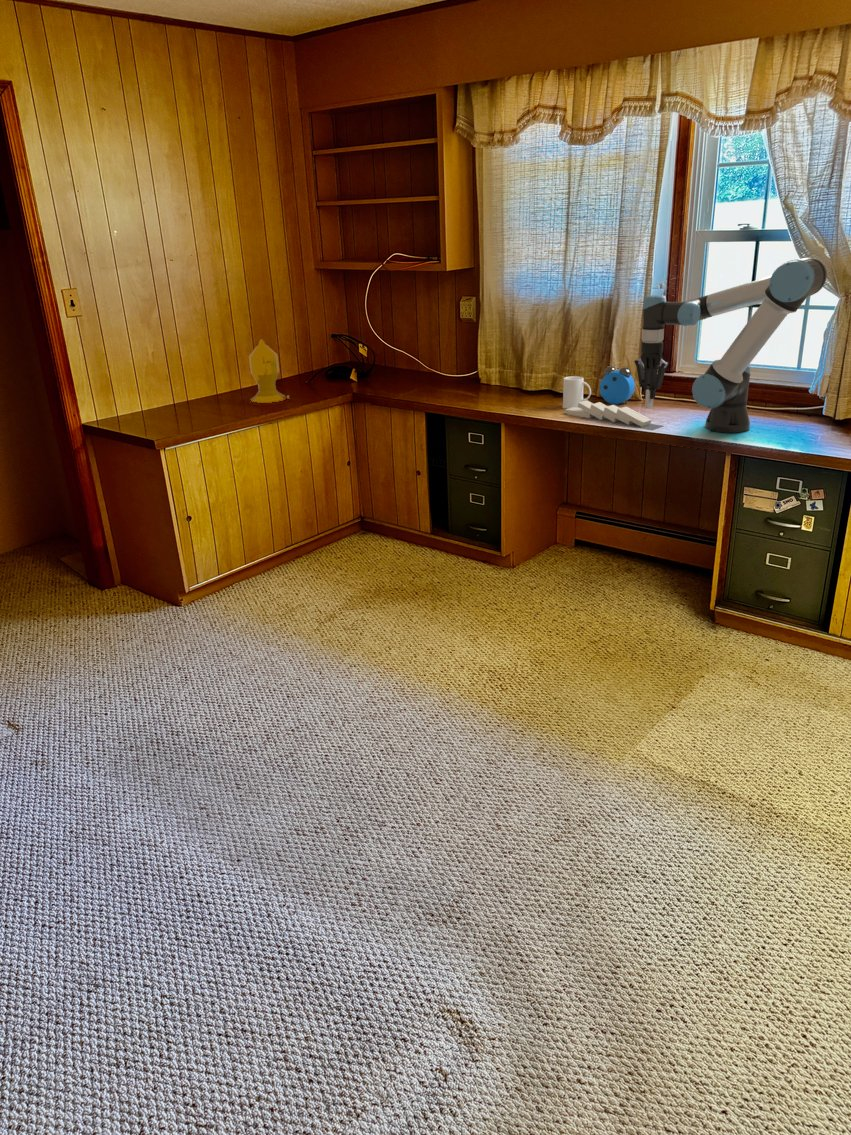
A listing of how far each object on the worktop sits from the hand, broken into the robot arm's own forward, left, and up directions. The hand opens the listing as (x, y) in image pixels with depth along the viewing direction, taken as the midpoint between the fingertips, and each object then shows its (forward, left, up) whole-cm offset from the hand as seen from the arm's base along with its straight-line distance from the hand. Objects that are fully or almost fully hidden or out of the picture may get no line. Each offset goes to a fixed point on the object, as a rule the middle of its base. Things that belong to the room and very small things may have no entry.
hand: (648, 407), depth 305 cm
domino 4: (+7, 0, -6) cm, 9 cm away
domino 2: (+19, 0, -6) cm, 20 cm away
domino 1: (+25, 0, -6) cm, 25 cm away
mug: (+41, -10, -8) cm, 43 cm away
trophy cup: (+160, +62, -8) cm, 172 cm away
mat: (+11, 0, -7) cm, 14 cm away
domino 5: (+1, 0, -6) cm, 6 cm away
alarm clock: (+33, -26, -8) cm, 43 cm away
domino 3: (+13, 0, -6) cm, 14 cm away
